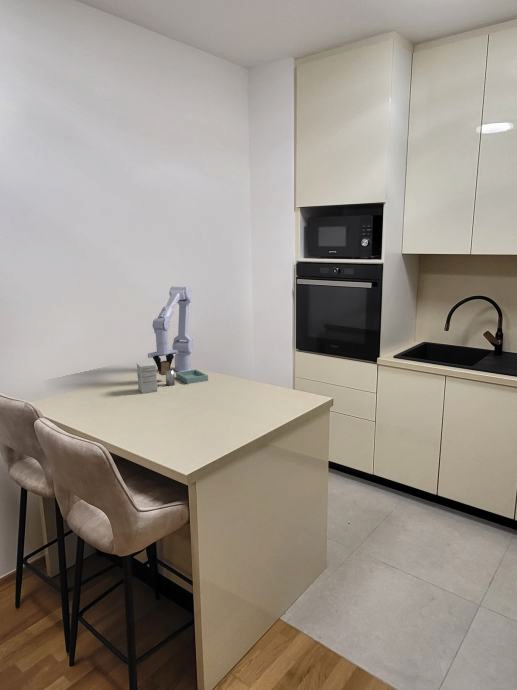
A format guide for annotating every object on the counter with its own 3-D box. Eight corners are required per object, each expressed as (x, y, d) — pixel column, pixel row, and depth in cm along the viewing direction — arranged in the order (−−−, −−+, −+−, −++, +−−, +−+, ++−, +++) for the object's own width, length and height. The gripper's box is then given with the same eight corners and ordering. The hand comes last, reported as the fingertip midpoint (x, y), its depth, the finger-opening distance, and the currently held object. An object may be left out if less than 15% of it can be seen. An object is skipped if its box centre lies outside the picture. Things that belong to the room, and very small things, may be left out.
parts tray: (176, 377, 237) (175, 372, 236) (196, 374, 242) (196, 369, 242) (187, 384, 225) (186, 378, 225) (208, 380, 231) (208, 375, 230)
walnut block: (159, 373, 231) (158, 361, 230) (166, 372, 233) (166, 360, 232) (161, 375, 228) (161, 363, 227) (169, 374, 230) (169, 362, 229)
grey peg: (165, 384, 225) (164, 370, 224) (172, 383, 227) (172, 369, 226) (168, 386, 222) (167, 372, 220) (176, 385, 224) (175, 370, 222)
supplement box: (138, 389, 218) (136, 362, 215) (154, 387, 221) (152, 361, 218) (141, 393, 211) (139, 366, 209) (157, 391, 214) (156, 364, 212)
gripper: (150, 346, 220) (152, 374, 223) (179, 342, 228) (181, 369, 231) (145, 343, 226) (147, 371, 229) (174, 340, 234) (175, 366, 236)
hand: (164, 370), depth 230 cm, fingers closed on walnut block, 4 cm apart
